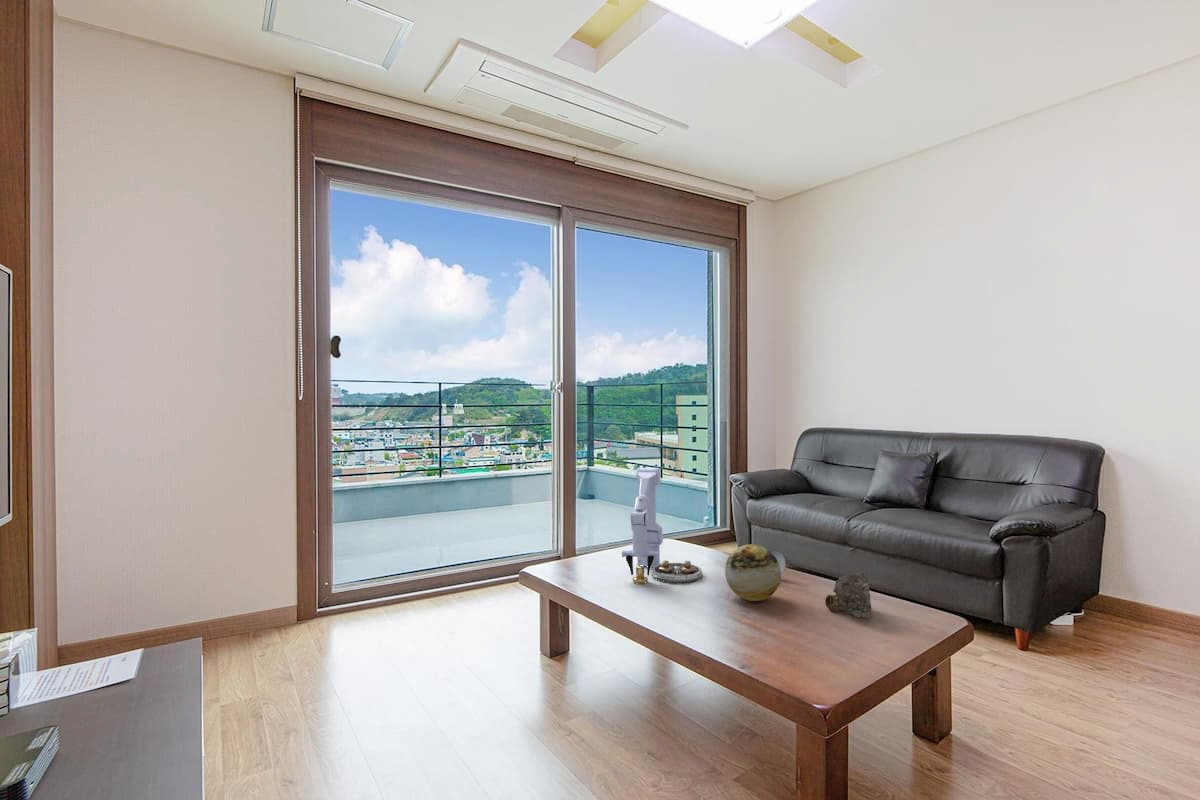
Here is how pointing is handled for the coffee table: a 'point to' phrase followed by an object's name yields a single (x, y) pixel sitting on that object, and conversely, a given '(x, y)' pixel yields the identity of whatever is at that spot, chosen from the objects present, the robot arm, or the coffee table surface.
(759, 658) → the coffee table surface
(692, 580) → the carrier
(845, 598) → the rock
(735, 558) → the decorative sphere
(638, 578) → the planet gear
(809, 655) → the coffee table surface
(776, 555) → the pocket watch
